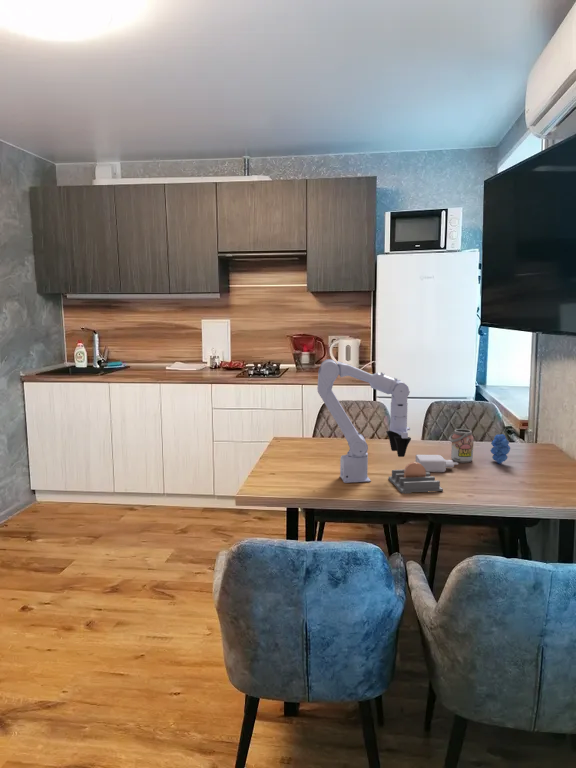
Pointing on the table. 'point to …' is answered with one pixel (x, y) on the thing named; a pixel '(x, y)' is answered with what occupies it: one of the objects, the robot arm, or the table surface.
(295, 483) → the table surface
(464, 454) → the beverage can
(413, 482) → the dish rack
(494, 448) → the grapes
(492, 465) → the table surface
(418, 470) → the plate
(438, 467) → the charger
